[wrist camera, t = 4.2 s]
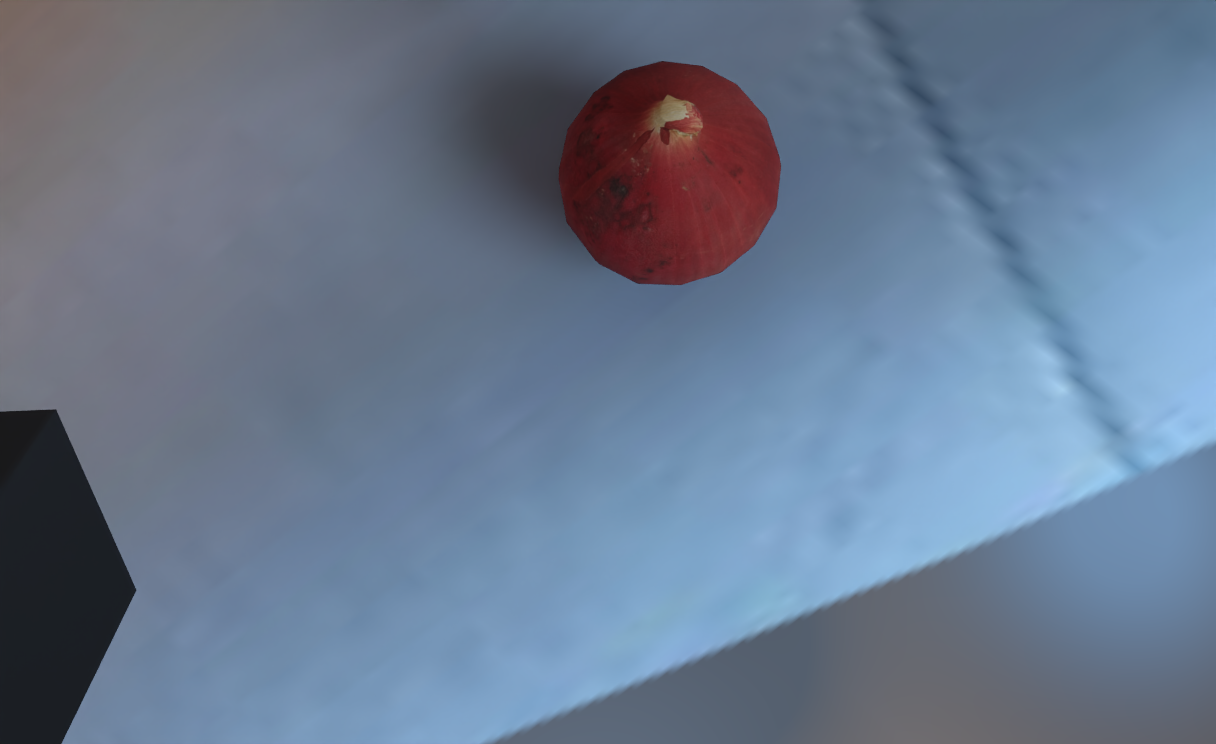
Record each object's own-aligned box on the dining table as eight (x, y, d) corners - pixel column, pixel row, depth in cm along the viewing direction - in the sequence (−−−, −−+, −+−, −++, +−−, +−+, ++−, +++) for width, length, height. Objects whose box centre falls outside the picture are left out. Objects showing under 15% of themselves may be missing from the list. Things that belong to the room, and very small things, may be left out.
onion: (650, 351, 32) (643, 287, 24) (534, 202, 33) (490, 95, 25) (805, 232, 33) (848, 132, 25) (686, 89, 34) (690, -52, 26)
